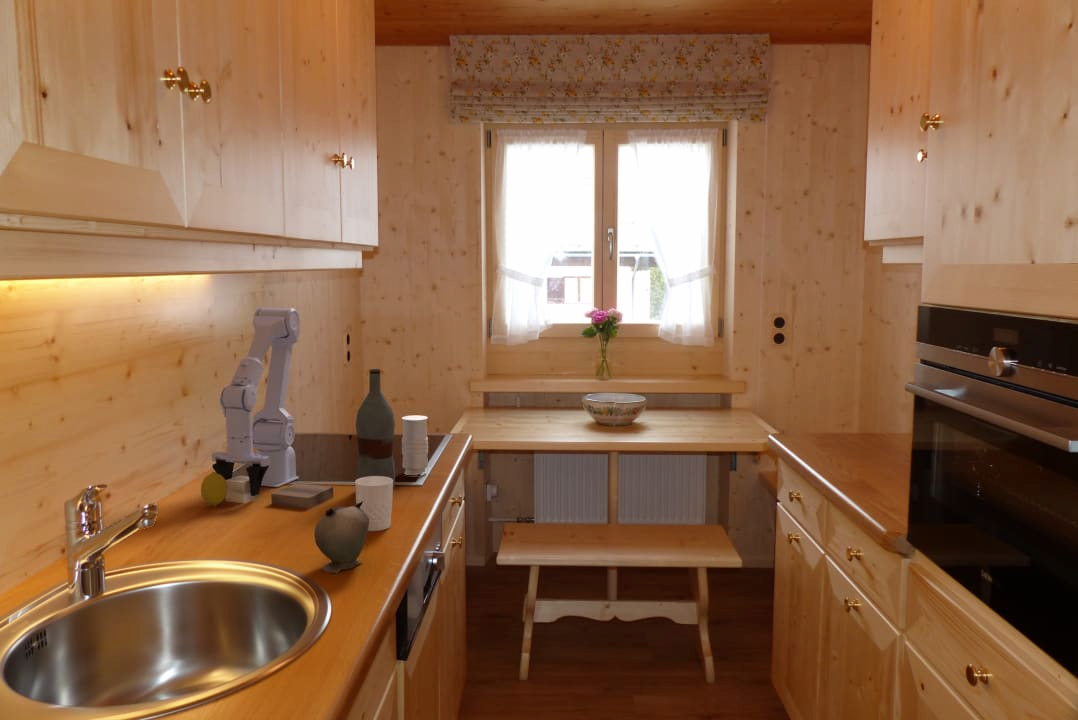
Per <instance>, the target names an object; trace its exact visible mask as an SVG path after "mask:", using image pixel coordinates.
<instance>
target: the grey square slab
mask: <svg viewBox="0 0 1078 720" xmlns="http://www.w3.org/2000/svg"><path fill="white" fill-rule="evenodd" d="M270 496H271V497H270V498H271V505H273V506H280V507H281V506H282V507H288V508H289V507H291V508H297V509H306V510H310V509H313V508H314V507H316V506H318V505H321V504H322V503H326V502H327V501H329V500H331V499H333V498H334V487H333V486H327V485H320V484H310V483H300V482H296V483H293V484H291V485H289V486H287V487H286V486H285V487H284V488H281V489H280V490H276V491H274V492H272V493H271V495H270Z"/></svg>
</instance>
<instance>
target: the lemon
mask: <svg viewBox="0 0 1078 720" xmlns="http://www.w3.org/2000/svg"><path fill="white" fill-rule="evenodd" d="M201 482H202V483H201V486H200V493H201V497H202V499H203V501H204V502H205V503H207V504H209V505H211V506H212V507H217V506H218V504H220V503H222V502H223V501H224V500H226V498H225V497H226V494H227V484H226V481H225V479H224V477H223V476H221V475H220V474H217V473H216V472H215V471H212V472H211V473H209V474H207V475H206V476H205V477H204V478H203V480H202V481H201Z"/></svg>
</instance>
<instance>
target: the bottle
mask: <svg viewBox="0 0 1078 720" xmlns="http://www.w3.org/2000/svg"><path fill="white" fill-rule="evenodd" d="M368 372H369V380H368V381H369V390H368V391H369V392H368V393H367V395H366V397H365V398H364V399H363V401H362V404H360V407H359V408H358V410H357V413H356V414H357V415H356V419H355V421H356V422H355V430H356V439H357V449H358V451H357V452H358V461H357V468H356V478H355V479H356V480H357V479H359V478H363V477H369V476H384V477H389V478H391V479H393V489H394V487H395V481H396V470H395V469H396V468H395V461H394V456H393V453H394V440H395V439H394V438H395V430H396V429H395V427H396V422H395V415H394V411H393V408H392V406H391V405H390V403H389V401H388V400H387V398H386V397H385V396H384V394H383V393H382V386H381V385H382V384H381V368H371V369H369V370H368Z"/></svg>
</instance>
